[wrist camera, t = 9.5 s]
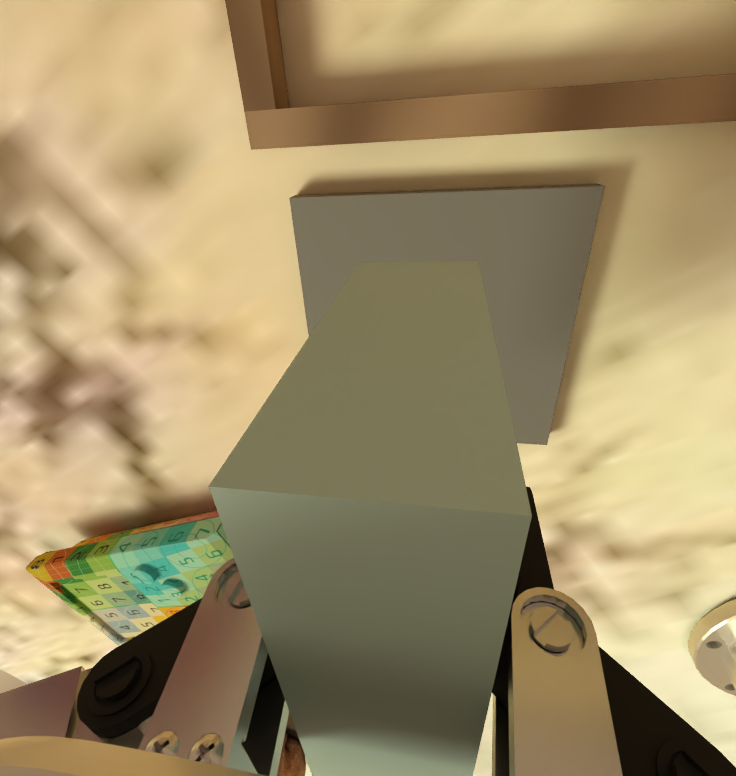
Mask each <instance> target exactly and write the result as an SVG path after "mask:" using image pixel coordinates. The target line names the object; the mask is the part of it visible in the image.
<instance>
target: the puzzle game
mask: <svg viewBox="0 0 736 776" xmlns="http://www.w3.org/2000/svg"><path fill="white" fill-rule="evenodd" d="M232 558H234V556H233V553H232V551H231V548H230V545H229V542H228V539H227V537H226V534H225V531H224V528H223V525H222V523H221V520H220V517H219V514H218V512H217V511H212V512H207V513H203V514H198V515H194V516H189V517H184V518H180V519H175V520H170V521H166V522H161V523H157V524H152V525H147V526H143V527H138V528H133V529H129V530H124V531H119V532H115V533H110V534H106V535H101V536H97V537H94V538H90V539H87V540H84V541H81V542H79V543H78V544H76V545H75V546H73V547H72V548H67V549H62V550H56V551H50V552H46V553H44V554H41V555H39V556H37V557H36V558H35V559H34V560H33V561H32V562H31V563H30V564H29V565H28V566H27V567H26V570H27V571H28V572H29V573H30V574H32V575H33V576H34V577H35V578H36V579H38V580H39V581H40V582H41V583H43V584H44V585H45V586H46V587H47V588H49V589H50V590H51V591H52V592H54V593H55V594H56V595H57V596H59V597H60V598H61V599H62V600H63V601H65V602H66V603H67V604H68V605H70V606H71V607H72V608H73V609H74V610H76V611H77V612H78V613H79V614H81V615H82V616H83V617H84V618H85V619H87V620H88V621H89V622H90V623H92V624H93V625H94V626H95V627H96V628H98V629H99V630H100V631H101V632H103V633H104V634H105V635H106V636H107V637H109V638H110V639H111V640H112V641H114V642H115V643H116V644H117V645H118V646H120V645H122V644H124V643H125V642H127V641H129V640H130V639H132V638H134V637H136V636H137V635H139V634H141V633H142V632H144V631H146V630H148V629H149V628H151V627H153V626H155V625H156V624H158V623H160V622H161V621H163V620H165V619H167V618H168V617H170V616H172V615H173V614H175V613H177V612H179V611H180V610H182V609H184V608H185V607H187V606H189V605H191V604H192V603H194V602H196V601H197V600H199V599H201V598H203V596H204V593H205V591H206V589H207V586H208V584H209V582H210V580H211V578H212V577H213V575H214V573H215V572H216V571H217V570H218V569H219V568H220V567H221V566H222V565H223V564H224V563H226V562H228V561H229V560H231V559H232Z"/></svg>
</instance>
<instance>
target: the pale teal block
mask: <svg viewBox="0 0 736 776" xmlns="http://www.w3.org/2000/svg"><path fill="white" fill-rule="evenodd" d="M209 489H210V492H211V495H212V498H213V500H214V503H215V506H216V509H217V512H218V514H219V517H220V520H221V523H222V525H223V528H224V531H225V534H226V537H227V539H228V542H229V545H230V548H231V551H232V553H233V556H234V559H235V562H236V564H237V567H238V570H239V573H240V576H241V578H242V581H243V584H244V587H245V589H246V592H247V595H248V598H249V601H250V603H251V606H252V609H253V612H254V615H255V617H256V620H257V623H258V626H259V628H260V631H261V634H262V637H263V640H264V642H265V645H266V648H267V651H268V654H269V656H270V659H271V662H272V665H273V667H274V670H275V673H276V676H277V679H278V681H279V684H280V687H281V690H282V692H283V695H284V698H285V701H286V704H287V706H288V709H289V712H290V715H291V718H292V720H293V723H294V726H295V729H296V731H297V734H298V737H299V740H300V743H301V745H302V748H303V751H304V754H305V756H306V759H307V762H308V765H309V768H310V770H311V773H312V776H473V772H474V767H475V763H476V758H477V754H478V750H479V745H480V741H481V737H482V732H483V728H484V723H485V719H486V715H487V710H488V706H489V702H490V697H491V693H492V688H493V684H494V680H495V675H496V671H497V667H498V662H499V658H500V653H501V649H502V645H503V640H504V636H505V631H506V627H507V623H508V618H509V614H510V610H511V605H512V601H513V596H514V592H515V588H516V583H517V579H518V575H519V570H520V566H521V561H522V557H523V553H524V548H525V544H526V540H527V535H528V531H529V526H530V522H531V518H532V514H531V509H530V504H529V499H528V495H527V490H526V485H525V481H524V476H523V471H522V466H521V462H520V457H519V452H518V447H517V443H516V438H515V433H514V428H513V424H512V419H511V414H510V410H509V405H508V400H507V395H506V391H505V386H504V381H503V376H502V372H501V367H500V362H499V357H498V353H497V348H496V343H495V339H494V334H493V329H492V324H491V320H490V315H489V310H488V305H487V301H486V296H485V291H484V286H483V282H482V277H481V272H480V268H479V263H478V261H437V262H359V263H358V265H357V266H356V268H355V269H354V271H353V272H352V274H351V275H350V277H349V278H348V280H347V281H346V283H345V284H344V286H343V287H342V289H341V290H340V292H339V293H338V295H337V296H336V298H335V299H334V300H333V302H332V303H331V305H330V306H329V308H328V309H327V311H326V312H325V314H324V315H323V317H322V318H321V320H320V321H319V323H318V324H317V326H316V327H315V329H314V330H313V332H312V333H311V335H310V336H309V338H308V339H307V341H306V342H305V344H304V345H303V347H302V348H301V350H300V351H299V353H298V354H297V356H296V357H295V359H294V360H293V362H292V363H291V365H290V366H289V367H288V369H287V370H286V372H285V373H284V375H283V376H282V378H281V379H280V381H279V382H278V384H277V385H276V387H275V388H274V390H273V391H272V393H271V394H270V396H269V397H268V399H267V400H266V402H265V403H264V405H263V406H262V408H261V409H260V411H259V412H258V414H257V415H256V417H255V418H254V420H253V421H252V423H251V424H250V426H249V427H248V429H247V430H246V431H245V433H244V434H243V436H242V437H241V439H240V440H239V442H238V443H237V445H236V446H235V448H234V449H233V451H232V452H231V454H230V455H229V457H228V458H227V460H226V461H225V463H224V464H223V466H222V467H221V469H220V470H219V472H218V473H217V475H216V476H215V478H214V479H213V481H212V482H211V484H210V485H209Z"/></svg>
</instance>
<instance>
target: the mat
mask: <svg viewBox="0 0 736 776" xmlns="http://www.w3.org/2000/svg"><path fill="white" fill-rule="evenodd" d="M604 187H605V186H603V185H600V184H582V185H556V186H529V187H503V188H477V189H450V190H424V191H397V192H371V193H345V194H318V195H295V196H293V197H290V205H291V212H292V219H293V226H294V233H295V241H296V248H297V255H298V262H299V269H300V276H301V284H302V291H303V298H304V305H305V312H306V319H307V327H308V334H309V336H310V335H311V333H312V332H313V330H314V329H315V327H316V326H317V324H318V323H319V321H320V320H321V318H322V317H323V315H324V314H325V312H326V311H327V309H328V308H329V306H330V305H331V303H332V302H333V300H334V299H335V298H336V296H337V295H338V293H339V292H340V290H341V289H342V287H343V286H344V284H345V283H346V281H347V280H348V278H349V277H350V275H351V274H352V272H353V271H354V269H355V268H356V266H357V265H358V263H359V262H437V261H478V263H479V268H480V272H481V277H482V282H483V286H484V291H485V296H486V301H487V305H488V310H489V315H490V320H491V324H492V329H493V334H494V339H495V343H496V348H497V353H498V357H499V362H500V367H501V372H502V376H503V381H504V386H505V391H506V395H507V400H508V405H509V410H510V414H511V419H512V424H513V428H514V433H515V438H516V443H525V444H540V445H547V442H548V438H549V433H550V429H551V424H552V420H553V415H554V411H555V406H556V402H557V397H558V393H559V389H560V384H561V380H562V375H563V371H564V366H565V362H566V357H567V353H568V348H569V344H570V339H571V335H572V330H573V326H574V321H575V317H576V312H577V308H578V303H579V299H580V294H581V290H582V285H583V281H584V276H585V272H586V267H587V263H588V258H589V254H590V250H591V245H592V241H593V236H594V232H595V227H596V223H597V218H598V214H599V209H600V205H601V200H602V196H603V191H604Z"/></svg>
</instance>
